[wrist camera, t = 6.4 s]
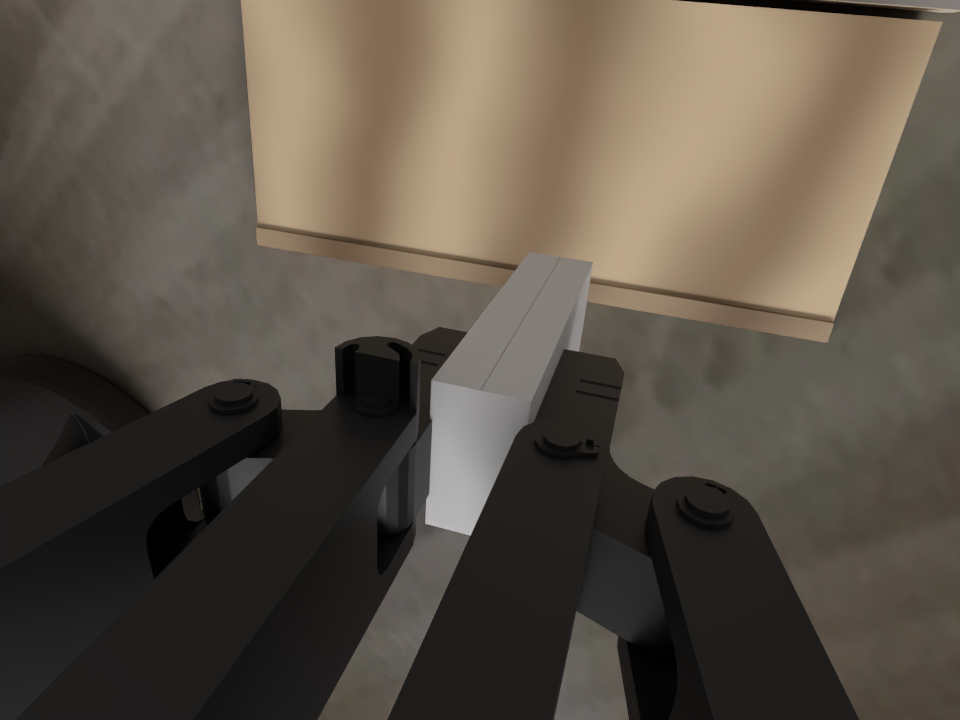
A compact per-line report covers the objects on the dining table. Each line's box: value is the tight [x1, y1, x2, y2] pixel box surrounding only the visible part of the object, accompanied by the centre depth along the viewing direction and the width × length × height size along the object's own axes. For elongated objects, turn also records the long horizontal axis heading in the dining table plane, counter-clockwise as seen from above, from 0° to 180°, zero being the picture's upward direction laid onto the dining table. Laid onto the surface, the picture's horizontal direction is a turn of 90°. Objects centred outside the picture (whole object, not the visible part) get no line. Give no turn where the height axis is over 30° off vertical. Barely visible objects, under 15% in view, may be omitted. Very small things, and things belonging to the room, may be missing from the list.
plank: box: [241, 0, 942, 343], centre depth 22 cm, size 21×10×2 cm, turn 86°
